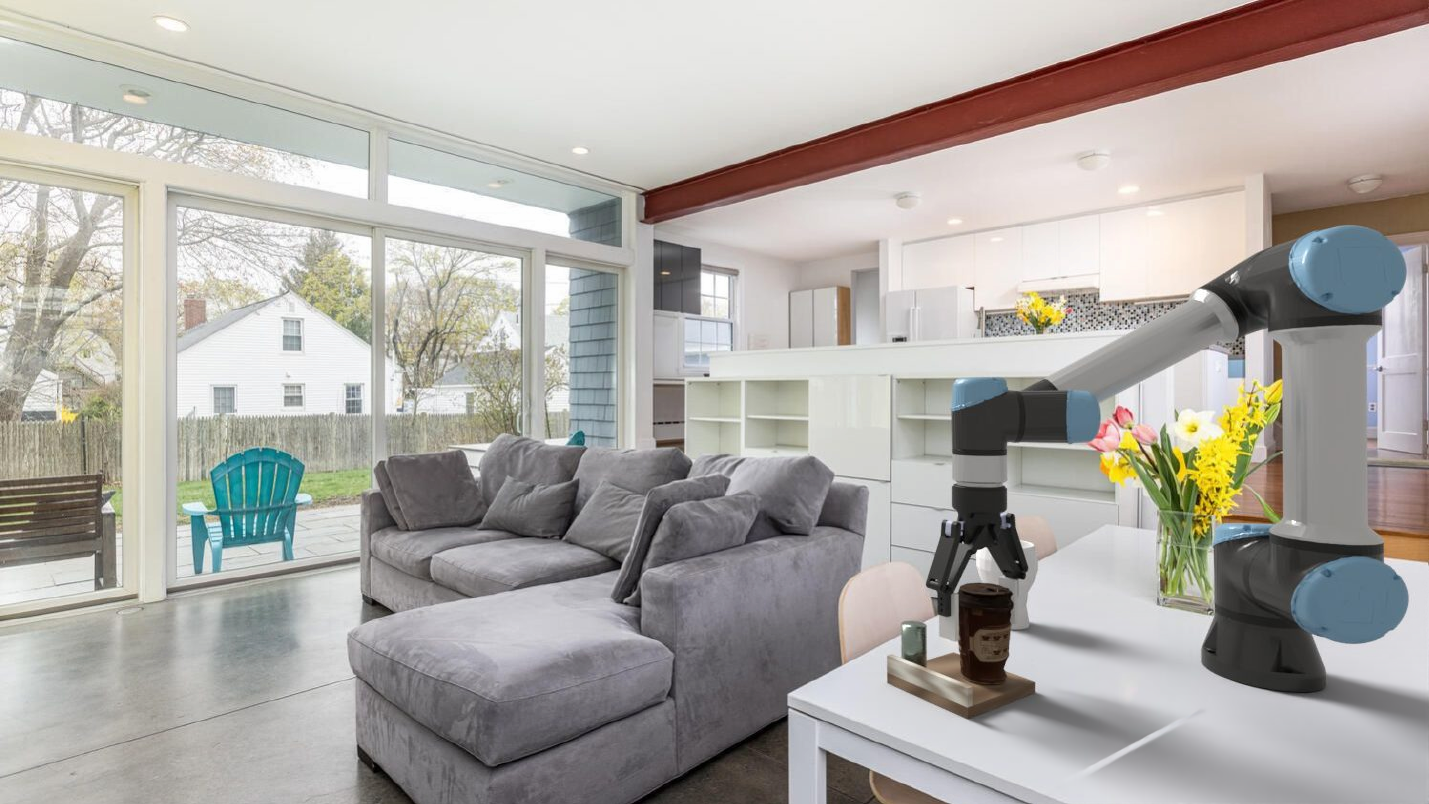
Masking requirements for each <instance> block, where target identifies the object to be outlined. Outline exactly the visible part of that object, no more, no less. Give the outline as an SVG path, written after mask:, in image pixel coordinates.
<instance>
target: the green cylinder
mask: <svg viewBox="0 0 1429 804" xmlns="http://www.w3.org/2000/svg"><path fill="white" fill-rule="evenodd" d="M900 627H901V628H900V629H901V631H900V632H901V633H900V635H901V637H900V641H901V645H900V646H901V649H900V653H901V655H900V656H901V657H900V658H902V659H905V660H907V661H910V662H912V663H915V664H917V665H920V666H922V667H925V668H927V660H928V657H927V656H928V655H927V654H928V649H927V648H928V647H927V645H928V644H927V643H928V639H927V638H928V637H927V635H928V633H927V632H928V631H927V630H928V629H927V627H928V626H927V624H926V623H924V622H921V621H917V620H904V621H902V622H901V624H900Z"/></svg>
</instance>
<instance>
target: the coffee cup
mask: <svg viewBox="0 0 1429 804" xmlns="http://www.w3.org/2000/svg"><path fill="white" fill-rule="evenodd" d="M956 593H957V594H958V606H959V641H957V645H958V652H959V654H960V665H961V669H960V671H961V674H962V676H963V677H964V678H965V679H967V680H969V681H972V682H976V683H981V684H999V683H1002V682H1004V681H1005V680H1006V679H1007V675H1006V672H1007V671H1006V670H1005V667H1006V663H1007V660H1008V658H1010V642H1011V630H1012V629H1011V626H1012V623H1011V622H1010V619H1011V610H1012V609H1013V608H1014V603H1013V601H1012V600H1011V597H1012V595H1013V593H1012V591H1010V589H1009V588H1005V587H1002V586H1000V585H996V584H992V583H983V582H967V583H964V584H961V585H960V586H959V589H958V592H956ZM1005 671H1006V672H1005Z"/></svg>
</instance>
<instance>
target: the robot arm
mask: <svg viewBox="0 0 1429 804" xmlns="http://www.w3.org/2000/svg"><path fill="white" fill-rule="evenodd" d="M1407 274H1408V269H1407V264H1406V260H1405V257H1404V255H1403V253H1402V252H1401V249H1400V248H1399V247H1398V246H1397V244H1396V243H1395V242H1394V241H1393V240H1392V239H1390V238H1387V237H1386V236H1385V235H1383V234H1382V232H1380V231H1378V230H1375V229H1373V228H1370V227H1367V226H1363V225H1362V226H1361V225H1356V224H1355V225H1353V224H1350V225H1349V224H1346V225H1345V224H1344V225H1337V226H1334V227H1330V228H1329V227H1328V228H1326V229H1316V230H1313V231H1311V232H1308V233H1306V234H1304V235H1303V236H1299V237H1297V238H1294V239H1291V240H1289V241H1286V242H1282V243H1279V244H1277V245H1274V246H1273V245H1272V246H1270V247H1267V248H1264V249H1263V250H1260V251H1258V252H1256V253H1254V254H1253V255H1250V256H1249V257H1247V258H1246V259H1243V260H1242V261H1241V262H1239V263H1238V264H1236V265H1234V266H1233V267H1231V268H1229V269H1228V270H1227V271H1225V272H1224V273H1222V274H1220V275H1219V276H1217V277H1215V278H1214V279H1212V280H1210V281H1208V282H1207V283H1205V284H1204V285H1201V286H1199V287H1198V288H1196V289H1194V290H1193V291H1192V292H1190V294H1189V297H1188V300H1187V301H1186V302H1184V303H1182V304H1180V305H1179V306H1177V307H1175V308H1173V309H1171V310H1169V311H1167V312H1165V313H1163V314H1162V315H1160V316H1158V317H1156V318H1155V319H1152V320H1150V321H1149V322H1147V323H1145V324H1143V325H1141V326H1139V327H1137V328H1135V329H1134V330H1132V331H1130V332H1128V333H1125V335H1123V336H1121V337H1119V338H1117V339H1115V340H1113V341H1112V342H1109V343H1108V344H1105V345H1104V346H1102V347H1100V348H1098V349H1096V350H1094V351H1092V352H1091V353H1089V354H1087V355H1085V356H1083V357H1081V358H1080V359H1077V360H1075V361H1074V362H1072V363H1070V364H1068V365H1066V366H1064V367H1062V368H1061V369H1059V370H1057V371H1055V372H1053V373H1051V374H1050V375H1047V376H1045V377H1044V378H1043V379H1041V380H1039V381H1037V382H1035V383H1033V384H1031V385H1029V386H1027V387H1025V388H1023V389H1022V390H1011V389H1009V387H1008V383H1007V380H1006V379H1005V378H1004V377H1002V376H996V377H995V376H993V377H992V376H991V377H990V376H979V377H977V376H974V377H973V376H972V377H960V378H957V379H956V380H955V381H954V382H953V385H952V393H951V395H952V396H951V407H950V413H951V416H950V417H951V453H952V455H951V456H952V464H951V479H952V480H953V481H954V482H955V483H954V484H953V485H952V486H951V507H952V508H953V510H955V511H956V512H957V519H956V520H951V519H949V520H948V519H942V520H941V524H940V537H939V540H938V543H937V546H936V550H935V552H934V556H933V559H932V562H931V566H930V568H929V571H928V575H927V578H926V581H925V587H926V588H928V589H931V590H933V591H936V594H937V595H936V596H937V598H936V599H937V601H936V602H937V611H936V612H937V614H938V637H939V638H943V639H946V640H949V641H952V642H955V643H956V642H958V641H959V606H958V594H957V593H958V592H955V590H956V588H957V586H958V585H959V582H960V580H961V578H962V576H963V573H964V572H965V570H966V569H967V566H968V564H969V562H970V560H971V557H972V556H973V555H976V553H977V550H981V549H983V548H985V547H986V548H988V550H989V552H990V554H991V555H992V557H993V559H994V560H995V562H996V564H997V565H998V567H999V569H1000V570H1001V572H1002V574H1003V575H1005V577H1004V576H1000V577H999V585H1000V586H1002V587H1005V588H1009V589H1010V591H1012V593H1013V595H1012V597H1011V600H1012V601H1013V603H1014V608H1013V609H1012V610H1011V619H1010V622H1011V623H1012V624H1017V623H1018V579H1023V580H1024V579H1025V577H1026V572H1027V571H1028V564H1027V561H1026V558H1025V555H1024V552H1023V549H1022V546H1021V543H1020V540H1021V539H1020V537H1019V534H1018V531H1017V526H1016V516H1015V514H1014V513H1009V512H1006V511H1007V510H1008V488H1007V487H1006V486H1005V485H1004V483H1007V482H1008V443H1013V444H1014V443H1015V444H1016V443H1017V444H1019V443H1029V444H1031V443H1033V444H1035V443H1037V444H1044V443H1045V444H1068V445H1072V444H1082V443H1083V444H1084V443H1091V442H1093V441H1095V439H1096V437H1097V436H1098V434H1099V432H1100V428H1101V420H1102V418H1101V408H1100V404H1101V403H1103V402H1105V401H1107V400H1108V399H1110V398H1112V397H1115V396H1116V395H1119V394H1120V393H1122V392H1124V391H1126V390H1127V389H1129V388H1132V387H1134V386H1135V385H1137V384H1139V383H1141V382H1143V381H1145V380H1147V379H1149V378H1151V377H1152V376H1154V375H1156V374H1159V373H1160V372H1163V371H1164V370H1166V369H1168V368H1170V367H1172V366H1174V365H1176V364H1178V363H1179V362H1181V361H1182V362H1183V361H1184V360H1185V359H1188V358H1190V357H1191V356H1193V355H1195V354H1197V353H1199V352H1201V351H1203V350H1205V349H1207V348H1208V347H1211V346H1212V345H1214V344H1216V343H1218V342H1219V343H1223V344H1231V343H1233V342H1235V341H1237V340H1239V339H1240V338H1243V337H1245V336H1248V335H1249V334H1253V333H1257V332H1259V331H1263V330H1266V329H1267V335H1268V336H1269V337H1270V338H1271V339H1273V340H1274V341H1275V342H1277V343H1278V344H1279V345H1280V346H1281V356H1282V358H1281V359H1282V360H1281V363H1282V365H1281V367H1282V368H1281V369H1282V370H1281V372H1282V374H1281V375H1282V377H1281V381H1282V383H1281V384H1282V385H1281V386H1282V388H1281V389H1282V390H1281V391H1282V393H1281V395H1282V401H1281V402H1282V512H1283V513H1282V514H1283V515H1282V518H1281V519H1280V521H1277V523H1252V522H1251V523H1249V522H1245V523H1242V522H1225V523H1220V524H1219V525H1217V526H1216V528H1215V530H1214V536H1213V537H1214V539H1213V543H1212V548H1213V581H1214V582H1213V583H1214V584H1213V585H1214V586H1213V587H1214V588H1213V589H1214V591H1213V593H1214V594H1213V595H1214V601H1213V602H1214V616H1213V619H1212V621H1211V623H1210V626H1209V627H1208V630H1207V633H1206V635H1205V639H1204V640H1203V642H1202V645H1201V649H1200V650H1201V651H1200V652H1201V653H1200V655H1201V656H1200V657H1201V658H1200V663H1201V664H1202V666H1203V667H1204V668H1206V669H1207V670H1209V671H1210V672H1213V673H1214V674H1215V675H1218V676H1221V677H1223V678H1226V679H1229V680H1231V681H1235V682H1238V683H1242V684H1244V685H1245V684H1246V685H1250V686H1252V687H1253V686H1254V687H1257V688H1263V689H1268V690H1275V691H1282V692H1292V693H1293V692H1296V693H1307V692H1317V691H1320V690H1323V689H1325V687H1326V686H1327V671H1326V670H1327V669H1326V666H1325V664H1324V662H1323V659H1322V656H1321V654H1320V652H1319V648H1318V645H1317V644H1316V641H1315V639H1314V636H1317V637H1319V638H1324V639H1327V640H1330V641H1333V642H1336V643H1341V644H1345V645H1347V644H1349V645H1359V644H1367V643H1371V642H1375V641H1377V640H1379V639H1381V638H1384V637H1385V635H1386V634H1387V633H1389V632H1390V631H1394V630H1395V629H1396V628H1397V627H1398V626H1399V625H1400V624H1401V623H1402V621H1403V619H1404V618H1405V616H1406V614H1407V611H1408V608H1409V601H1410V600H1409V599H1410V598H1409V596H1410V595H1409V591H1408V590H1409V589H1408V587H1407V584H1406V582H1405V580H1404V579H1403V577H1402V576H1401V575H1399V574H1398V573H1397V572H1396V570H1395V569H1394V568H1392V566H1390V565H1388V564H1387V563H1385V551H1384V550H1385V548H1384V547H1385V545H1384V543H1385V540H1384V538H1383V537H1382V535H1380V534H1378V533H1377V532H1376V531H1374V529H1372V528H1371V527H1370V526H1369V523H1368V522H1369V518H1368V517H1369V516H1368V514H1369V513H1368V509H1369V507H1368V506H1369V505H1368V503H1369V502H1368V490H1369V489H1368V380H1367V379H1368V375H1367V372H1368V371H1367V369H1368V367H1367V363H1368V362H1367V356H1368V355H1367V354H1368V353H1367V349H1368V348H1367V347H1368V342H1369V340H1371V339H1372V338H1373V337H1375V335H1376V334H1378V333H1379V332H1381V331H1382V330H1383V308H1385V307H1386V306H1388V305H1389V304H1391V303H1392V302H1393V301H1394V299H1395V297H1396V296H1398V295H1400V293H1401V292H1402V291H1403V288H1404V286H1405V284H1406V280H1407ZM1016 561H1018V562H1019V563H1017V562H1016ZM1313 635H1314V636H1313Z"/></svg>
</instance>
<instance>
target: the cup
mask: <svg viewBox="0 0 1429 804" xmlns="http://www.w3.org/2000/svg"><path fill="white" fill-rule="evenodd" d="M1019 540H1020V543H1021V546H1022V549H1023V552H1024V555H1025V558H1026V561H1027V564H1028V571H1027V572H1026V577H1025V579H1024V580H1023V579H1018V623H1017V624H1012V626H1011V630H1013V631H1015V630H1017V631H1018V630H1025V629H1028V628H1029V627H1030V625H1031V624H1030V618H1029V612H1028V607H1027V605H1028V604H1027V603H1028V596H1029V592H1030V590H1031V589H1032V586H1034V583H1035V580H1036V578H1037V575H1038V571H1039V559H1038V558H1039V557H1038V555H1037V550H1036V546H1035V545H1034V543H1032V542H1031V541H1030V542H1029V541H1026V540H1022V539H1019ZM975 562H976V563H975V565H976V569H977V572H978V575H979V578H980V580H981V583H992V584H996V585H999V577H1000V576H1004V577H1005V575H1003V574H1002V572H1001V570H1000V569H999V567H998V565H997V564H996V562H995V560H994V559H993V557H992V555H991V554H990V552H989V550H988V548H986V547H985V548H983V549H981V550H977V552H976V553H975ZM1016 562H1017V563H1019V562H1018V561H1016Z"/></svg>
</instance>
